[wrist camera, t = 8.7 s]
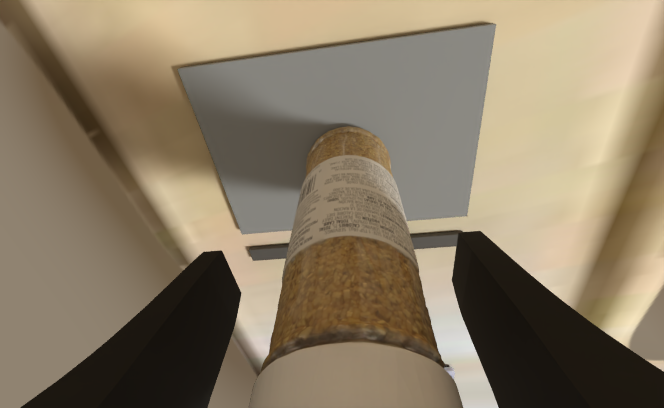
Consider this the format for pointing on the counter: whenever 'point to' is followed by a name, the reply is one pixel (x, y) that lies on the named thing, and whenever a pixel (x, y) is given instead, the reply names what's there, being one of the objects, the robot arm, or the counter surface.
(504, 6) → the counter surface
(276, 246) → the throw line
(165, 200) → the counter surface
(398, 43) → the mat
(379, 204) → the sprinkles bottle
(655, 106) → the counter surface
